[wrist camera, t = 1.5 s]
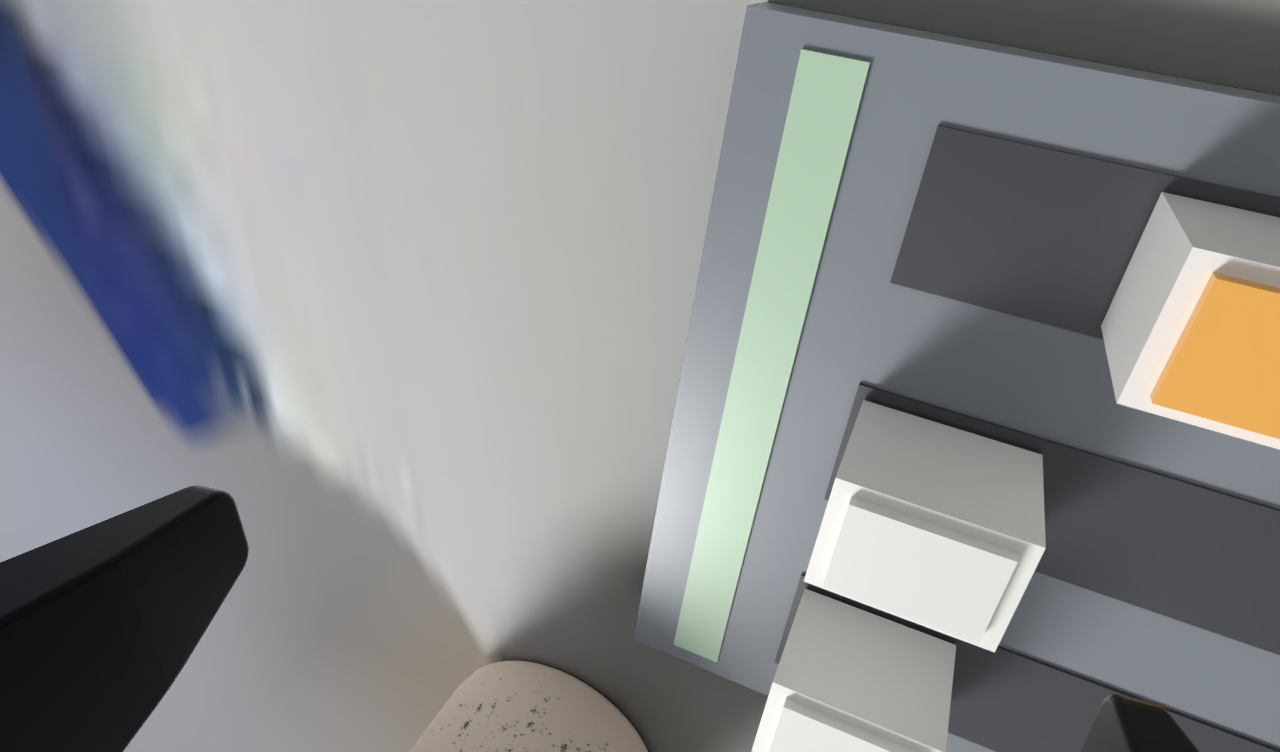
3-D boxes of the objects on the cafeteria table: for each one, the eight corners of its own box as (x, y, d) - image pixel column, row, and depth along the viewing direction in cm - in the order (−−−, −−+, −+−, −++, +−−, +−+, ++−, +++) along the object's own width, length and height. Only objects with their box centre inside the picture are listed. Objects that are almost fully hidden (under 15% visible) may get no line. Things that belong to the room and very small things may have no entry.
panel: (2094, 245, 13) (2217, 279, 11) (1394, 908, 22) (1418, 969, 21) (765, 1, 18) (745, 6, 17) (650, 609, 28) (631, 642, 26)
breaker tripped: (1412, 246, 15) (1519, 328, 11) (1326, 384, 16) (1399, 491, 13) (1161, 191, 16) (1196, 252, 12) (1100, 325, 17) (1117, 411, 14)
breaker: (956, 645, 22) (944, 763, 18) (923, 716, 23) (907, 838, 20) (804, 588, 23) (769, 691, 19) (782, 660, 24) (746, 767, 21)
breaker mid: (1042, 454, 19) (1046, 558, 15) (998, 551, 20) (994, 663, 17) (863, 399, 20) (832, 485, 16) (834, 494, 21) (800, 589, 18)
